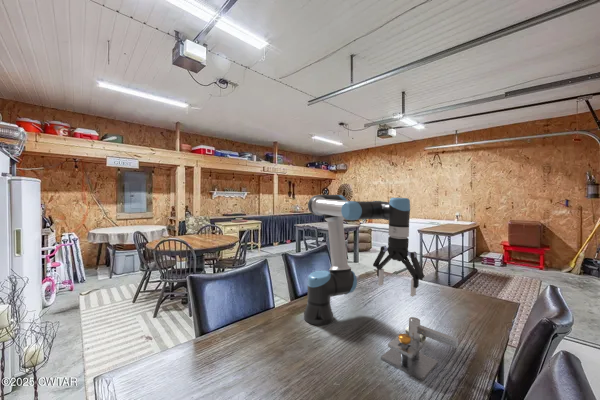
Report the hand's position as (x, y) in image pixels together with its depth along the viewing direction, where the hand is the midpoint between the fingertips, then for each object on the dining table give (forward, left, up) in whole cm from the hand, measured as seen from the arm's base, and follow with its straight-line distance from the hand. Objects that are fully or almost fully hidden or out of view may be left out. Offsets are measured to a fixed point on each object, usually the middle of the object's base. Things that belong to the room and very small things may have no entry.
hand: (396, 289), depth 103 cm
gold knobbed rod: (+6, -4, -25) cm, 26 cm away
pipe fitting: (0, +17, -27) cm, 32 cm away
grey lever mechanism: (+9, 0, -26) cm, 28 cm away
